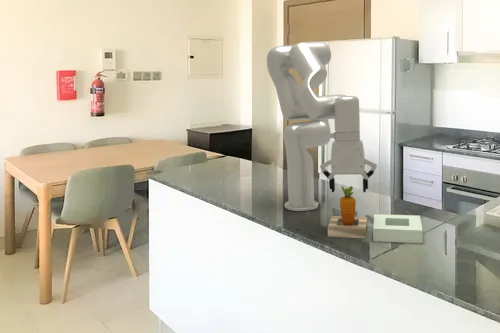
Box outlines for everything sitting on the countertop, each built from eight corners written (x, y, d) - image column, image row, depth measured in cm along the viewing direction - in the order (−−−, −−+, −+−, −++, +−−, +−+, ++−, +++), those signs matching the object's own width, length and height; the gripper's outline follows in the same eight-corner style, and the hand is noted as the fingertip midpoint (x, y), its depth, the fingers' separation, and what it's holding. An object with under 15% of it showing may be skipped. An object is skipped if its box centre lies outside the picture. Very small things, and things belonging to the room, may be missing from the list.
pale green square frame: (374, 226, 167) (374, 214, 166) (419, 227, 163) (419, 215, 162) (373, 241, 154) (373, 228, 153) (422, 243, 150) (422, 230, 149)
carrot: (337, 230, 165) (336, 185, 162) (350, 227, 166) (350, 182, 163) (345, 234, 160) (344, 188, 157) (359, 232, 162) (358, 186, 159)
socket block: (331, 224, 170) (331, 216, 170) (367, 226, 167) (367, 217, 167) (327, 236, 159) (327, 227, 159) (365, 238, 156) (365, 229, 156)
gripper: (317, 139, 155) (319, 194, 159) (376, 137, 151) (377, 194, 154) (320, 135, 163) (322, 188, 166) (376, 134, 158) (377, 188, 161)
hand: (348, 191), depth 160 cm, fingers open, 9 cm apart
